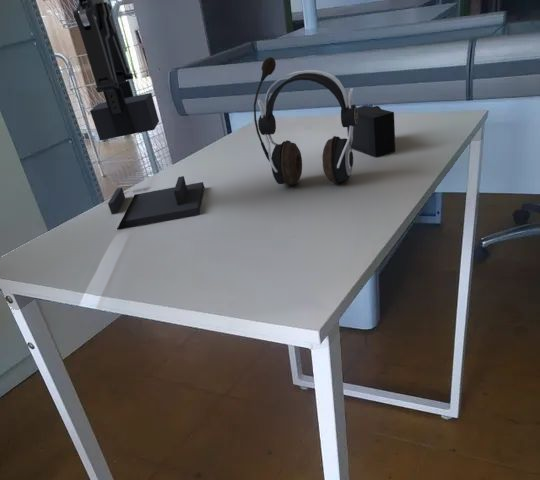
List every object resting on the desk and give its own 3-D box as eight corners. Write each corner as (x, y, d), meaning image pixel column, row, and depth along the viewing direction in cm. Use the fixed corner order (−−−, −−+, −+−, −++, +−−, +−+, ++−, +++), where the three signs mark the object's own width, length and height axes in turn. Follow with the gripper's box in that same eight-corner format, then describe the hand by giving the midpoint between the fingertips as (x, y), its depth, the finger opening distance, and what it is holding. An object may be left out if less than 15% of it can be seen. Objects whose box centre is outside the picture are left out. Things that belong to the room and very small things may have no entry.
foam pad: (99, 140, 87) (89, 110, 85) (107, 131, 92) (98, 103, 90) (154, 129, 87) (145, 99, 84) (159, 121, 92) (151, 92, 89)
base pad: (95, 233, 92) (87, 212, 90) (112, 205, 104) (105, 186, 102) (199, 214, 91) (193, 193, 89) (204, 188, 103) (199, 168, 101)
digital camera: (401, 150, 101) (400, 109, 97) (376, 157, 100) (373, 117, 96) (372, 140, 109) (370, 103, 105) (348, 147, 108) (345, 110, 104)
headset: (258, 194, 94) (235, 66, 83) (272, 179, 100) (252, 56, 89) (356, 189, 88) (345, 49, 77) (365, 173, 94) (356, 41, 83)
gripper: (86, -53, 68) (142, 139, 81) (116, -48, 83) (159, 112, 97) (28, -40, 69) (94, 148, 82) (69, -38, 84) (118, 121, 97)
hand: (129, 128), depth 89 cm, fingers closed on foam pad, 6 cm apart
